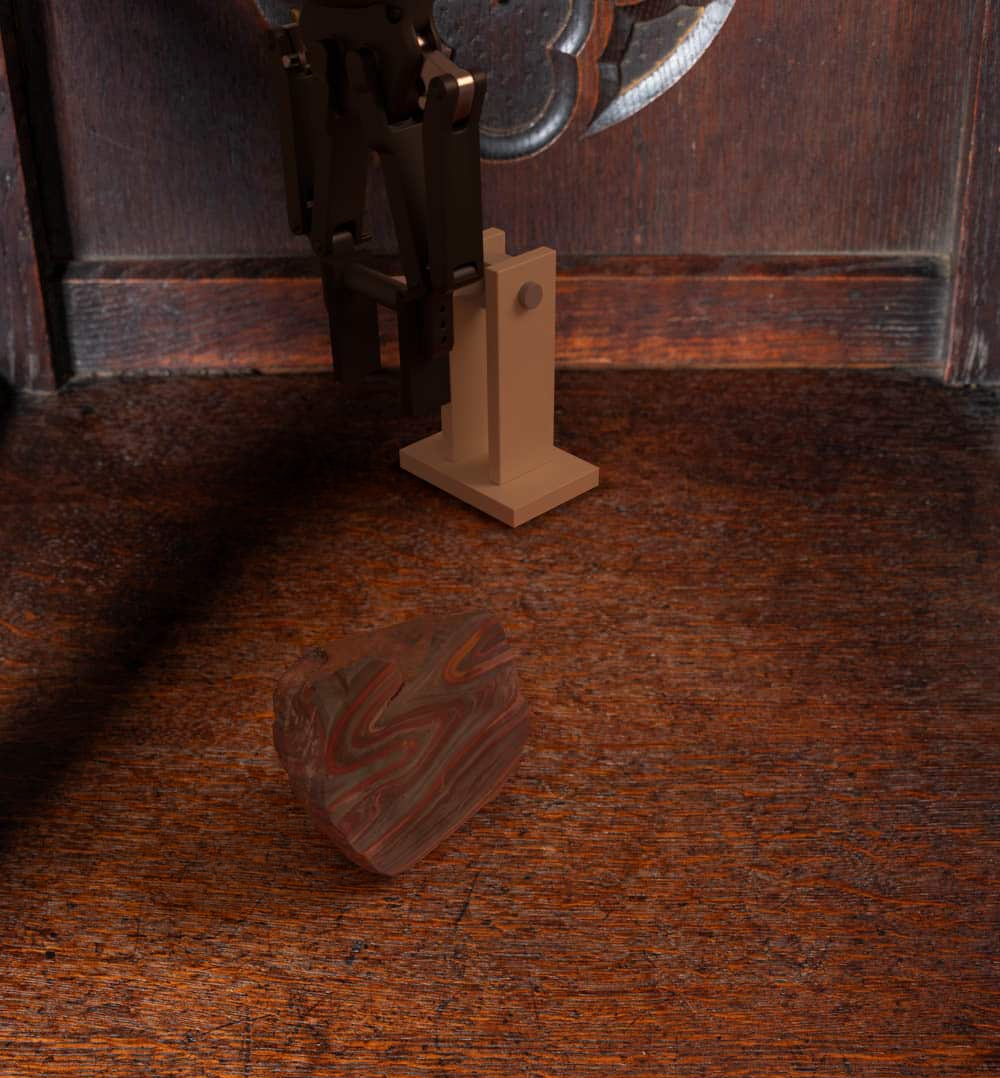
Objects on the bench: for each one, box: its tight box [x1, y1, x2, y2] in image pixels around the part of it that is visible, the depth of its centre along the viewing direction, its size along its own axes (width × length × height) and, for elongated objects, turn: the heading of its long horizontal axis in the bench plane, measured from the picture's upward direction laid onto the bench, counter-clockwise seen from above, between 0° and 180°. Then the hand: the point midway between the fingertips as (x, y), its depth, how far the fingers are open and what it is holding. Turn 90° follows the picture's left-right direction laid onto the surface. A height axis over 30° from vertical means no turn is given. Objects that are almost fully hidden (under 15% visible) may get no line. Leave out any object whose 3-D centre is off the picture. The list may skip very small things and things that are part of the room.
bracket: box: [398, 226, 600, 529], centre depth 82 cm, size 7×10×14 cm
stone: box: [272, 608, 532, 877], centre depth 60 cm, size 13×8×10 cm
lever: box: [343, 252, 514, 313], centre depth 76 cm, size 10×5×2 cm, turn 134°
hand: (391, 390), depth 77 cm, fingers closed on lever, 5 cm apart
